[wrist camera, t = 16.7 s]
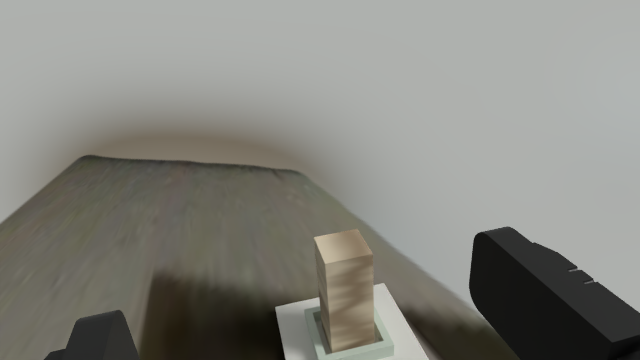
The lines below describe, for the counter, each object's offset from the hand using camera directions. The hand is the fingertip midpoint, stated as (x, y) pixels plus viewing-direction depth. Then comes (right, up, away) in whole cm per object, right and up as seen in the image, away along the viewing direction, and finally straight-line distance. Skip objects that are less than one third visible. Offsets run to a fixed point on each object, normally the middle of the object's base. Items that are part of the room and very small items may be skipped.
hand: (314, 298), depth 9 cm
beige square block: (+3, -14, +37) cm, 39 cm away
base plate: (+3, -15, +37) cm, 40 cm away
